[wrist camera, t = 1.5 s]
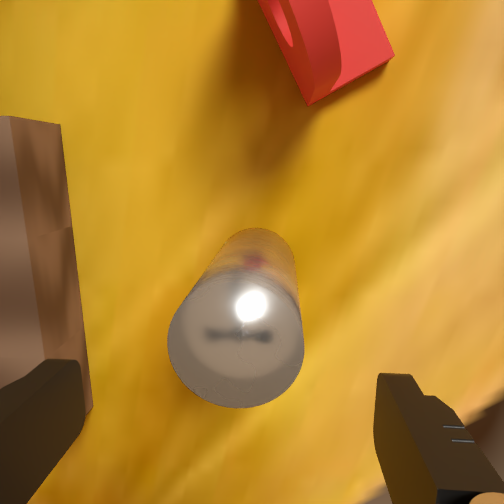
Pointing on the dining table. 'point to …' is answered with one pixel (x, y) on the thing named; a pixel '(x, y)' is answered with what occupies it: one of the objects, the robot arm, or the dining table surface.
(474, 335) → the dining table surface
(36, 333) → the socket block
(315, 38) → the bracket
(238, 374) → the peg
